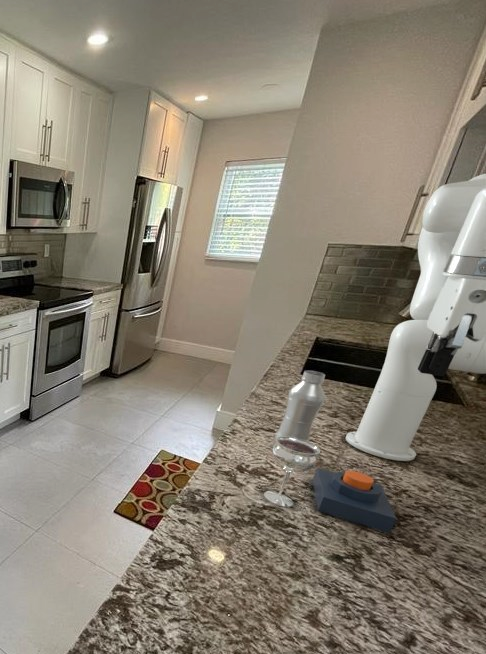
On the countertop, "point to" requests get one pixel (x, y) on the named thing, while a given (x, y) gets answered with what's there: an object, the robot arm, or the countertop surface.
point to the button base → (352, 501)
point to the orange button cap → (358, 480)
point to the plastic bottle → (302, 406)
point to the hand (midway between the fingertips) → (430, 373)
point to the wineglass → (291, 463)
